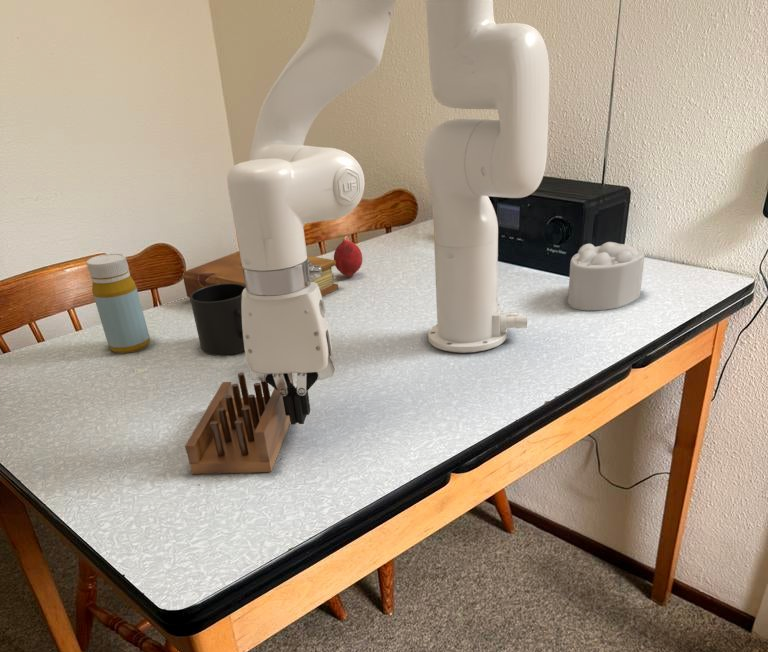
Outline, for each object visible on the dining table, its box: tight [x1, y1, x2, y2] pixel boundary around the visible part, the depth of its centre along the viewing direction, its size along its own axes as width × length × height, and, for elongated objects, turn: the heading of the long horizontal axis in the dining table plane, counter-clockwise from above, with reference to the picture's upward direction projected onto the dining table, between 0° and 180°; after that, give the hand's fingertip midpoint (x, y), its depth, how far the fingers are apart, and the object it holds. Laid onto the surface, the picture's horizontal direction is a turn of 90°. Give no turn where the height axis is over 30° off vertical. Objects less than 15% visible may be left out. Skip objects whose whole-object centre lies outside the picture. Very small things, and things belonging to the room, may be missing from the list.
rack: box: [184, 372, 295, 475], centre depth 98 cm, size 10×18×6 cm, turn 176°
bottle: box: [86, 252, 151, 354], centre depth 126 cm, size 7×7×15 cm
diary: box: [182, 250, 339, 299], centre depth 146 cm, size 23×19×6 cm
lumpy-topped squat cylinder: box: [567, 241, 645, 312], centre depth 129 cm, size 10×13×9 cm
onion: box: [333, 235, 363, 278], centre depth 151 cm, size 6×6×8 cm
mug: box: [189, 283, 246, 356], centre depth 124 cm, size 9×12×9 cm
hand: (299, 419), depth 97 cm, fingers closed
